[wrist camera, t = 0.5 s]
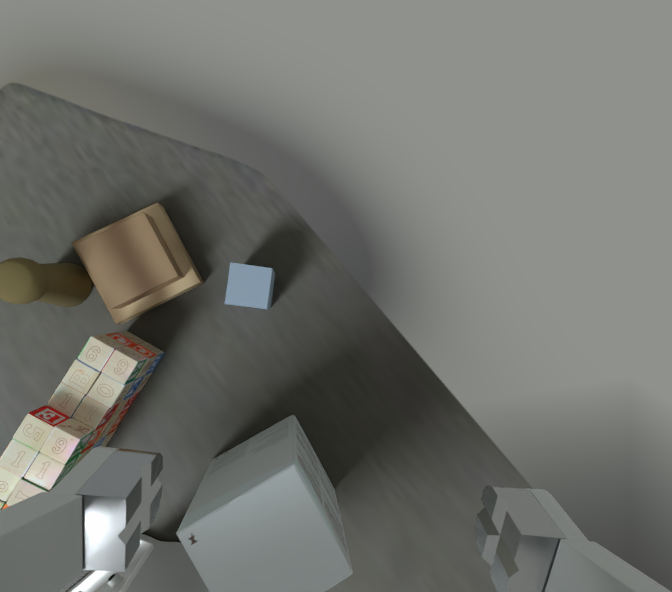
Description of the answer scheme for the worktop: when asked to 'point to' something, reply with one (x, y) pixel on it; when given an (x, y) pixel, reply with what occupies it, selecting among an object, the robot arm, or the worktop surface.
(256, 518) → the supplement box
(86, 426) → the stack of blocks
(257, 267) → the pillar
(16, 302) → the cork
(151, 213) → the plinth
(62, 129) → the worktop surface
